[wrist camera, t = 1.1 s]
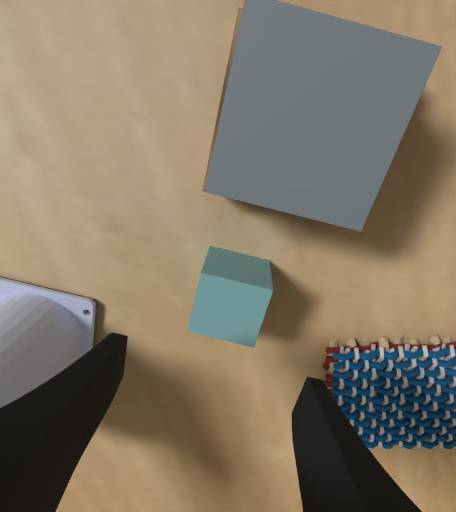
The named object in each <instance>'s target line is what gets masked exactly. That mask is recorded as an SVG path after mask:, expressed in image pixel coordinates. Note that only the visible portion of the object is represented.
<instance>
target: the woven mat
mask: <svg viewBox="0 0 456 512" xmlns="http://www.w3.org/2000/svg"><path fill="white" fill-rule="evenodd" d="M402 343H403V335H394V340H393V343H389V342H388V338H387V337H381V338H378V342H374V343H372V344H370V340H362V346H357V345H356V342H355V340H354V338H351V339H347V340H346V341H345V347H343V346H340V347H338V340H336V341H330V343H329V347H328V348H326V352H327V354H329V356H326V363H324V364H323V368H324V369H325V370H327V369H328V374H326V380H328V381H324V383H325V385H326V386H328V389H329V391H330V393H331V394H332V396H333V397H334V399H335V400H336V402H337V404H338V405H339V407H340V408H341V410H342V411H343V413H344V414H345V416H346V417H347V419H348V420H349V422H350V423H351V425H352V426H353V428H354V429H355V431H356V432H357V434H358V435H359V436H360V438H361V439H362V441H363V442H364V443H365V445H366V446H367V447H368V448H369V450H373V448H374V447H376V446H377V445H378V446H377V448H378V449H380V448H382V447H383V448H386V449H390V448H392V447H393V446H394V445H395V444H397V445H398V446H397V447H398V448H401V447H405V448H407V449H412V448H413V447H414V446H415V445H417V446H415V447H417V448H421V446H422V447H426V448H429V449H431V448H433V447H435V446H437V445H438V446H437V447H438V448H443V447H444V448H446V449H452V448H453V447H454V446H456V350H455V349H456V342H453V343H451V337H444V339H443V342H442V344H439V343H441V342H440V340H439V338H438V336H430V337H428V338H427V339H426V345H420V342H419V340H418V338H412V339H411V340H410V341H409V344H402ZM389 349H390V350H389ZM370 351H371V352H370ZM369 352H370V353H369ZM343 353H345V354H343ZM401 360H403V362H400V361H401ZM453 366H455V367H453ZM436 367H437V368H436ZM435 368H436V369H435ZM343 369H344V370H343ZM445 377H446V378H445ZM357 378H358V379H357ZM356 379H357V380H356ZM355 380H356V381H355ZM381 386H384V387H381ZM366 387H367V388H366ZM413 393H414V394H413ZM441 393H444V394H442V395H441ZM356 394H357V396H355V395H356ZM411 394H413V395H411ZM383 400H384V401H383ZM446 400H447V401H446ZM444 401H446V402H444ZM428 402H429V403H428ZM443 402H444V403H443ZM354 411H355V412H354ZM442 416H444V417H442ZM377 418H379V419H377ZM354 425H355V426H354ZM379 431H380V432H379ZM377 432H378V433H377ZM437 432H438V433H437ZM427 438H430V439H429V440H428V442H427V441H426V439H427ZM367 439H369V440H368V441H367ZM404 439H405V441H404ZM448 441H449V442H448Z"/></svg>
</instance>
